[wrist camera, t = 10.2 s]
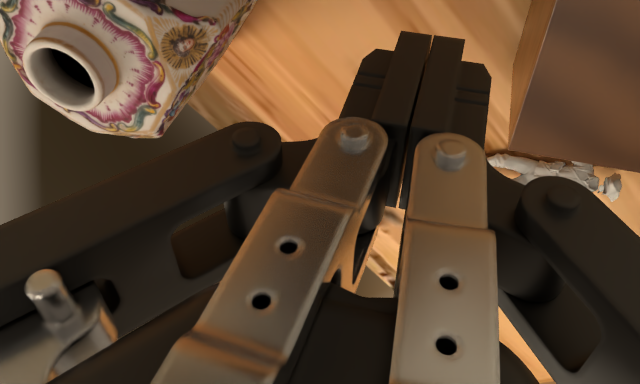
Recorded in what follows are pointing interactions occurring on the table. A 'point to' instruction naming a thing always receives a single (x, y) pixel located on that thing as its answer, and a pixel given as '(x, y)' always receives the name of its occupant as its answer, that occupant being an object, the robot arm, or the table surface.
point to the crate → (579, 83)
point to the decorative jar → (118, 56)
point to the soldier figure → (558, 173)
